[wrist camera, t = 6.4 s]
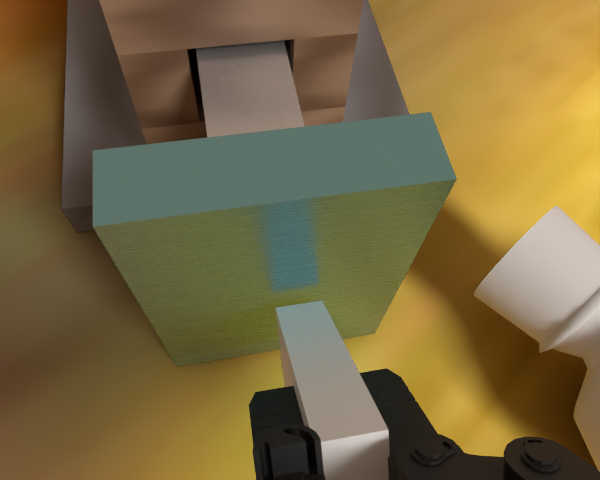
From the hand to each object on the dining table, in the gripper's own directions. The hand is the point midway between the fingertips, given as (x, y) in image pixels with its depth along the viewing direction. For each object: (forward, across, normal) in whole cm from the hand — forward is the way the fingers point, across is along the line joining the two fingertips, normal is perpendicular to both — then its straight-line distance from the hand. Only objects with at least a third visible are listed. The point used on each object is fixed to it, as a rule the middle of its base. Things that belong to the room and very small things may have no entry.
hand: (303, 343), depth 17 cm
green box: (+10, -1, +4) cm, 11 cm away
